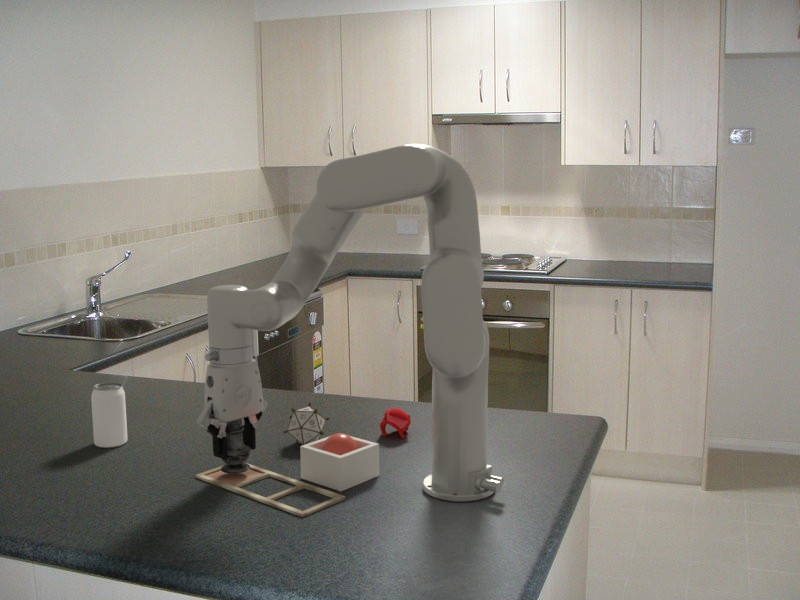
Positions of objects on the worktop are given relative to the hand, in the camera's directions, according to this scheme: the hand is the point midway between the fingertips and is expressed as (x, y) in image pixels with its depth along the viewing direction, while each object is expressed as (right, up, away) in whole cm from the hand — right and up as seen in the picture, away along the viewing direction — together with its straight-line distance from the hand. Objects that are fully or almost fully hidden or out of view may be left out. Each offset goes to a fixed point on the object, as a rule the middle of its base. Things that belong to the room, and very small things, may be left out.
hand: (234, 451), depth 161 cm
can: (-29, -2, +20) cm, 35 cm away
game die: (+11, -2, +19) cm, 22 cm away
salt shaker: (0, -3, +1) cm, 3 cm away
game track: (+7, -6, -5) cm, 10 cm away
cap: (+29, -1, +24) cm, 38 cm away
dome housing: (+19, -5, 0) cm, 20 cm away
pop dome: (+19, -3, 0) cm, 19 cm away
